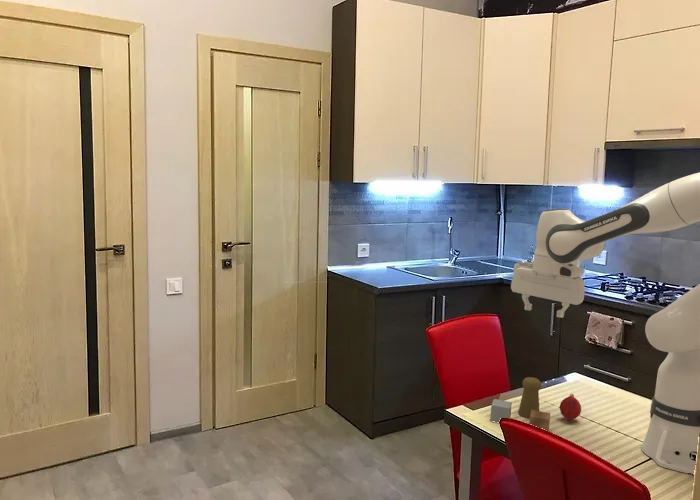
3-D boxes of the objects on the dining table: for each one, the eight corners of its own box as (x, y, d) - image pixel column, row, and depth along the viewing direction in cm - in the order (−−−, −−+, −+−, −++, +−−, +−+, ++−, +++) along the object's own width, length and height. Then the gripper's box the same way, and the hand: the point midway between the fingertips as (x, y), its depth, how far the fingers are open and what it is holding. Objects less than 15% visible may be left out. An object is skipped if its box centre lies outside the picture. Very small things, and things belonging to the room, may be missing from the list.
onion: (581, 426, 168) (584, 399, 167) (560, 423, 169) (562, 396, 168) (577, 418, 174) (580, 391, 173) (557, 415, 175) (560, 389, 174)
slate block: (510, 418, 171) (511, 402, 170) (508, 425, 166) (509, 408, 165) (492, 415, 172) (493, 398, 172) (490, 421, 168) (491, 405, 167)
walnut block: (548, 430, 164) (550, 413, 164) (547, 437, 160) (549, 419, 159) (529, 426, 166) (531, 409, 165) (528, 433, 161) (530, 416, 161)
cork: (542, 419, 171) (545, 382, 170) (521, 418, 171) (524, 381, 170) (536, 411, 177) (539, 375, 175) (515, 409, 177) (519, 374, 176)
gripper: (509, 260, 171) (504, 307, 173) (581, 272, 158) (574, 323, 160) (519, 258, 176) (514, 304, 178) (589, 270, 163) (583, 319, 165)
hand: (543, 313), depth 169 cm, fingers open, 8 cm apart
